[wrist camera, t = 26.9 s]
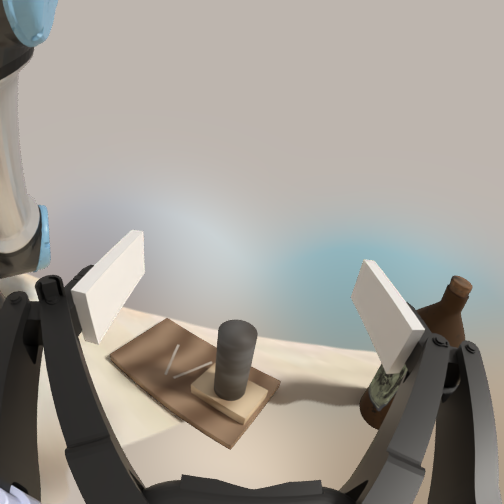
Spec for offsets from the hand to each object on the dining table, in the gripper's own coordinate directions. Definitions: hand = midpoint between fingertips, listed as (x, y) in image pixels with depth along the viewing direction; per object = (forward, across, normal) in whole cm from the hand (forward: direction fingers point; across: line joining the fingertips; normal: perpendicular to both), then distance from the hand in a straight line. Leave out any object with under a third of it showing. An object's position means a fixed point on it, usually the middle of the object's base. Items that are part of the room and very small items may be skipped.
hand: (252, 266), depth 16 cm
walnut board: (+13, -6, -28) cm, 32 cm away
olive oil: (+8, +25, -28) cm, 39 cm away
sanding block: (+10, 0, -26) cm, 28 cm away
